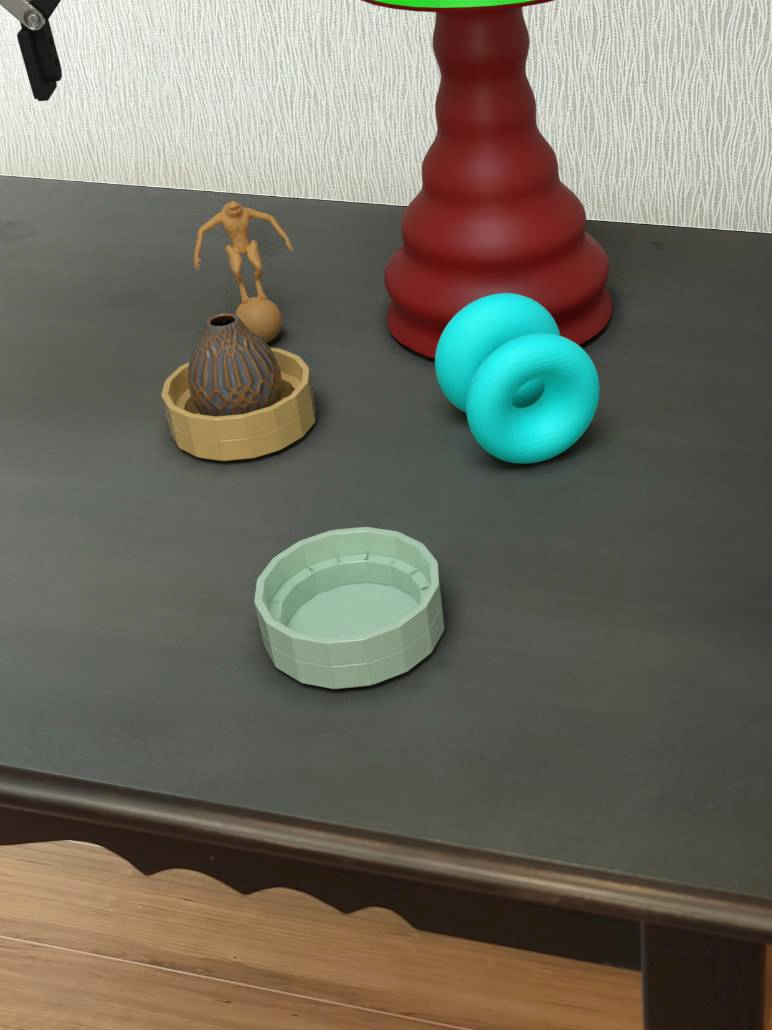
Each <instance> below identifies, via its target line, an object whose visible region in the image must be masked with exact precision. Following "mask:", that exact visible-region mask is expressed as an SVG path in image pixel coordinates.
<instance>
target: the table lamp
mask: <svg viewBox="0 0 772 1030" xmlns="http://www.w3.org/2000/svg"><path fill="white" fill-rule="evenodd" d="M360 1H362V2H364V3H367V4H370V5H373V6H377V7H381V8H387V9H392V10H400V11H410V12H419V13H423V12H424V13H434V14H435V21H434V27H433V34H432V50H433V55H434V59H435V60H436V63H437V66H438V69H439V73H440V80H439V86H438V89H437V94H436V97H435V103H434V112H435V120H436V121H435V122H436V128H437V129H436V134H435V137H434V140H433V142H432V143H431V145H430V146H429V148H428V150H427V152H426V153H425V156H424V157H423V160H422V163H421V182H422V184H421V188H420V190H419V192H418V193H417V194H416V195H415V196H414V198H412V200H411V201H410V203H409V204H408V205H407V207H406V209H405V211H404V213H403V215H402V217H401V219H400V222H401V223H400V234H401V237H402V238H401V239H402V242H403V243H402V244H401V245H400V246H399V247H398V248H397V250H395V252H394V253H393V254H392V255H391V257H390V258H389V261H388V263H387V265H386V267H385V269H384V276H383V277H384V280H383V281H384V286H385V289H386V291H387V293H388V296H389V298H390V299H391V301H390V304H389V306H388V309H387V311H386V313H387V314H386V324H387V327H388V329H389V333H390V334H391V335H392V336H393V337H394V338H395V339H396V340H397V341H398V342H399V343H400V344H401V345H403V346H405V347H407V349H410V350H411V351H414V352H415V353H417V354H419V355H421V356H424V357H427V358H429V359H431V360H434V361H435V354H436V349H437V345H438V342H439V339H440V337H441V335H442V333H443V331H444V329H445V328H446V326H447V325H448V323H449V322H450V321H451V319H452V318H453V317H454V316H455V315H456V314H457V313H458V312H459V311H460V310H461V309H463V308H464V307H465V306H467V305H468V304H470V303H472V302H474V301H476V300H478V299H480V298H482V297H486V296H489V295H493V294H500V293H512V294H518V295H522V296H525V297H528V298H530V299H532V300H534V301H536V302H538V303H539V304H540V305H542V306H543V307H544V308H545V309H546V310H547V311H548V312H549V313H550V314H551V316H552V317H553V319H554V320H555V322H556V324H557V327H558V329H559V332H560V336H562V337H565V338H567V339H569V340H571V341H573V342H574V343H576V344H577V345H579V346H580V347H581V346H582V345H584V344H585V343H587V342H588V341H590V340H592V339H593V338H594V337H596V336H597V335H598V334H599V333H600V332H601V331H602V330H604V329H605V327H606V326H607V324H608V322H609V320H610V319H611V317H612V311H613V302H612V297H611V295H610V292H609V290H608V289H607V288H606V284H607V282H608V279H609V274H610V261H609V257H608V254H607V253H606V251H605V250H604V248H603V247H602V245H601V244H600V243H599V242H598V241H597V240H596V239H595V238H594V237H593V236H592V235H591V234H589V233H588V232H587V231H586V228H587V227H586V226H587V215H586V211H585V207H584V204H583V203H582V202H581V200H580V199H579V197H578V196H577V195H576V194H575V192H573V191H572V190H571V189H570V188H569V187H568V186H567V185H566V184H564V183H563V182H562V181H561V178H560V174H559V173H560V171H559V163H558V158H557V154H556V152H555V151H554V149H553V147H552V146H551V144H550V143H549V142H548V141H547V139H546V138H545V137H544V136H543V134H542V133H541V131H540V129H539V128H538V125H537V101H536V97H535V94H534V91H533V88H532V86H531V83H530V82H529V81H530V80H529V79H528V76H527V60H528V55H529V50H530V43H531V40H530V35H529V29H528V26H527V23H526V20H525V18H524V12H523V8H525V7H530V6H536V5H540V4H545V3H550V2H555V1H556V0H360Z"/></svg>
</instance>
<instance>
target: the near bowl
mask: <svg viewBox="0 0 772 1030" xmlns="http://www.w3.org/2000/svg"><path fill="white" fill-rule="evenodd" d="M440 577H441V576H440V567H439V562H438V560H437V559H436V557H435V556H434V555H433V554H432V553H431V551H430V550H429V549H428V548H427V546H426V545H425V544H424V543H422V541H421V542H420V541H418V540H416V539H415V538H413V537H410V536H408V535H406V534H404V533H402V532H400V531H397V530H391V529H386V528H385V529H384V528H376V527H372V526H360V527H349V528H338V529H330V530H327V531H325V532H321V533H318V534H315V535H312V536H310V537H306V538H303V539H300V540H298V541H297V542H295V543H294V544H292V545H290V546H289V547H288V548H286V549H284V550H283V551H281V552H279V553H278V554H277V555H275V556H274V557H273V558H272V559H271V560H270V561H269V562H268V564H267V565H266V567H265V568H264V569H263V571H262V572H261V573H260V574H259V576H258V577H257V578H256V585H255V586H256V587H255V593H254V598H253V599H254V600H253V603H254V608H255V612H256V616H257V621H258V624H259V628H260V634H261V639H262V642H263V646H264V648H265V650H266V652H267V654H268V656H269V658H270V660H271V662H272V663H273V666H274V667H275V668H276V669H278V670H279V671H281V672H282V673H284V674H286V675H287V676H289V677H291V678H292V679H294V680H296V681H297V682H299V683H301V684H305V685H311V686H315V687H321V688H326V689H331V690H339V689H340V690H341V689H349V688H359V687H360V688H361V687H370V686H374V685H377V684H379V683H381V682H385V681H387V680H389V679H392V678H394V677H398V676H401V675H404V674H405V673H407V672H409V671H410V670H411V669H413V668H414V667H416V666H417V665H418V664H419V663H420V662H422V661H423V660H424V659H426V658H427V657H428V656H429V655H430V654H432V653H433V651H434V649H435V647H436V645H437V644H438V642H439V640H440V639H441V636H442V634H443V633H444V631H445V617H444V602H443V595H442V586H441V578H440Z"/></svg>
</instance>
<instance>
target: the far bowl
mask: <svg viewBox="0 0 772 1030" xmlns="http://www.w3.org/2000/svg"><path fill="white" fill-rule="evenodd" d="M270 349H271V350H272V352H273V354H274V356H275V357H276V360H277V362H278V365H279V367H280V372H281V377H282V397H281V401H279V402H277V403H275V404H273V405H272V406H270V407H266V408H263V409H259V410H256V411H253V412H249V413H246V414H239V415H228V416H208V415H200V413H199V412H198V410H197V408H196V406H195V405H194V402H193V400H192V397H191V393H190V390H189V385H188V366H189V361H188V362H186V363H184V364H183V365H180V366H179V367H177V369H176V370H174V371H173V372H172V373H171V374H170V375H169V376H168V377H167V378H166V379H165V380H164V384H163V387H162V391H161V394H160V397H161V400H162V404H163V408H164V412H165V416H166V419H167V424H168V427H169V433H170V436H171V437H172V439H173V440H174V442H175V444H176V445H177V447H178V448H179V449H180V450H182V451H184V452H186V453H188V454H189V455H190V454H191V455H192V456H194V457H196V458H198V459H206V460H213V461H221V462H227V461H237V460H238V461H239V460H249V459H256V458H259V457H262V456H266V455H269V454H272V453H275V452H279V451H281V450H284V449H285V448H287V447H288V446H290V445H291V444H293V443H295V442H297V441H298V440H300V439H302V438H303V437H304V436H305V435H306V434H308V433H307V432H309V430H310V429H311V428H312V427H313V425H314V424H316V416H317V415H316V414H317V405H316V398H315V393H314V389H313V388H314V387H313V382H312V377H311V375H312V374H311V370H310V367H309V366H308V365H307V364H306V362H305V361H304V360H303V359H302V357H301V356H299V355H297V354H295V353H292V352H290V351H287V350H285V349H282V348H278V347H277V348H276V347H270Z"/></svg>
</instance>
